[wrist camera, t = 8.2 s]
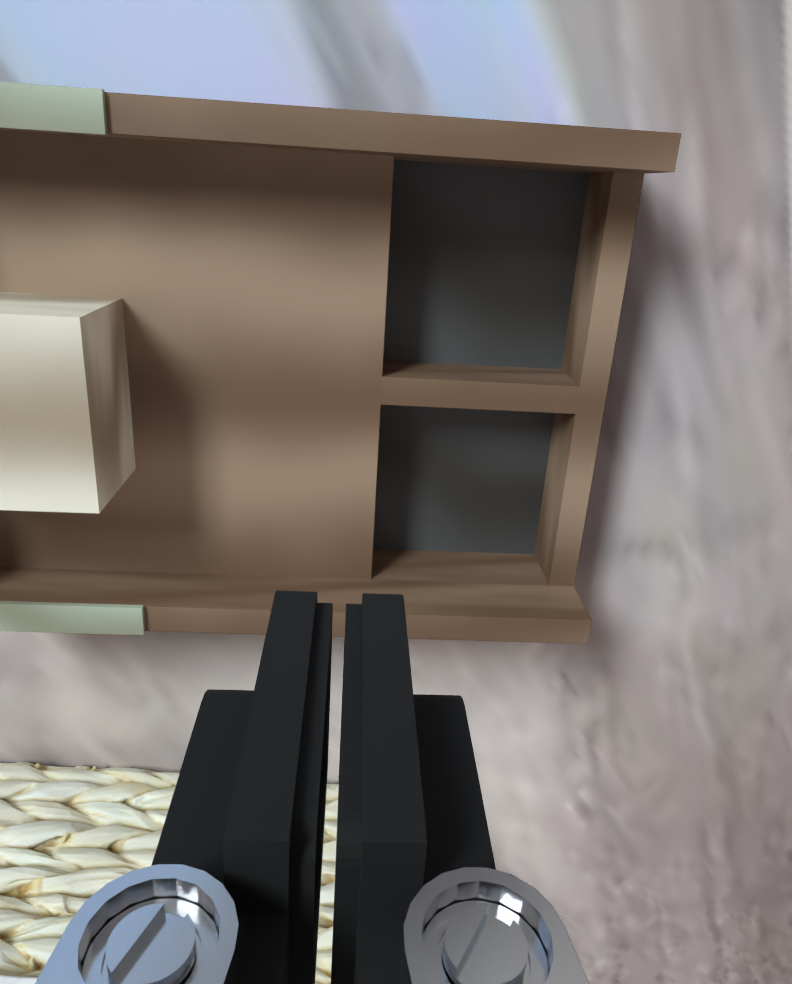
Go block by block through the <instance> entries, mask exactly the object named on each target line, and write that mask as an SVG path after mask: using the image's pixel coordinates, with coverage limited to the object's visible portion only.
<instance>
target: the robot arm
mask: <svg viewBox="0 0 792 984" xmlns="http://www.w3.org/2000/svg"><path fill="white" fill-rule="evenodd" d="M317 600H318V599H317V592H312V591H281V590H276V591H275V595H274V600H273V604H272V609H271V614H270V619H269V623H268V628H267V633H266V637H265V642H264V647H263V652H262V656H261V661H260V666H259V671H258V675H257V680H256V685H255V690H254V691H247V690H207V691H206V692H205V694H204V697H203V699H202V702H201V705H200V709H199V712H198V715H197V718H196V722H195V725H194V728H193V731H192V735H191V738H190V741H189V744H188V748H187V751H186V754H185V757H184V761H183V764H182V767H181V770H180V774H179V777H178V780H177V784H176V787H175V790H174V793H173V797H172V800H171V803H170V806H169V810H168V813H167V816H166V819H165V823H164V826H163V829H162V832H161V836H160V839H159V842H158V845H157V849H156V852H155V855H154V859H153V862H152V865H151V866H149V867H145V868H141V869H137V870H133V871H131V872H129V873H127V874H125V875H123V876H121V877H119V878H117V879H115V880H113V881H111V882H109V883H107V884H106V885H105V886H103V887H102V888H101V889H100V890H99V891H97V892H96V893H95V894H94V895H92V896H91V897H90V898H89V899H88V900H86V901H85V902H84V904H83V905H82V906H81V908H80V909H79V910H78V912H77V913H76V914H75V916H74V917H73V918H72V920H71V921H70V922H69V924H68V925H67V927H66V929H65V931H64V933H63V934H62V936H61V938H60V940H59V941H58V943H57V945H56V947H55V949H54V950H53V952H52V954H51V956H50V957H49V959H48V961H47V963H46V965H45V966H44V968H43V970H42V972H41V974H40V975H39V977H38V979H37V981H36V982H35V984H315V974H316V958H317V941H318V924H319V907H320V891H321V874H322V857H323V840H324V824H325V807H326V790H327V770H328V741H329V711H330V680H331V650H332V619H333V603H317ZM331 984H589V981H588V979H587V977H586V974H585V972H584V970H583V967H582V965H581V963H580V960H579V958H578V956H577V953H576V951H575V949H574V946H573V944H572V942H571V939H570V937H569V935H568V932H567V930H566V928H565V926H564V924H563V922H562V921H561V919H560V917H559V916H558V914H557V912H556V911H555V909H554V907H553V906H552V904H550V903H549V902H548V901H547V900H546V899H545V898H544V897H543V896H542V895H541V894H540V893H539V892H538V891H537V890H536V889H535V888H534V887H533V886H531V885H529V884H527V883H526V882H524V881H522V880H520V879H519V878H517V877H515V876H513V875H512V874H508V873H505V872H501V871H498V870H496V868H495V863H494V857H493V852H492V847H491V842H490V836H489V831H488V826H487V821H486V815H485V810H484V805H483V800H482V794H481V789H480V784H479V779H478V773H477V768H476V763H475V758H474V752H473V747H472V742H471V737H470V731H469V726H468V721H467V716H466V710H465V706H464V702H463V699H462V697H461V696H455V695H413V688H412V678H411V667H410V657H409V647H408V636H407V626H406V615H405V605H404V596H403V594H375V593H363V594H362V604H346V618H345V642H344V667H343V692H342V716H341V741H340V765H339V790H338V815H337V840H336V864H335V889H334V914H333V939H332V964H331Z"/></svg>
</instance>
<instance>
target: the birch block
mask: <svg viewBox="0 0 792 984" xmlns="http://www.w3.org/2000/svg"><path fill="white" fill-rule="evenodd" d="M135 469H136V465H135V453H134V440H133V428H132V415H131V402H130V390H129V377H128V365H127V352H126V339H125V327H124V314H123V302H122V298H111V297H91V296H71V295H52V294H32V293H13V292H0V510H12V511H41V512H70V513H100V512H101V511H102V510H103V508H104V507H105V506H106V505H107V503H108V502H109V501H110V500H111V499H112V497H113V496H114V495H115V494H116V492H117V491H118V490H119V489H120V487H121V486H122V485H123V484H124V483H125V481H126V480H127V479H128V478H129V476H130V475H131V474H132V473H133V471H134V470H135Z"/></svg>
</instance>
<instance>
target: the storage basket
mask: <svg viewBox="0 0 792 984" xmlns="http://www.w3.org/2000/svg"><path fill="white" fill-rule="evenodd" d="M179 774H180V773H177V772H155V771H150V770H145V769H139V768H126V767H113V768H103V769H97V767H96V766H93V768H92V769H91V768H90V767H89V766H80V765H79V766H76V767H74V768H73V767H56V766H42V765H40V764H39V763H36V765H35V764H33V763H29V762H18V763H0V984H35V982H36V981H37V979H38V977H39V975H40V974H41V972H42V970H43V968H44V966H45V965H46V963H47V961H48V959H49V957H50V956H51V954H52V952H53V950H54V949H55V947H56V945H57V943H58V941H59V940H60V938H61V936H62V934H63V933H64V931H65V929H66V927H67V925H68V924H69V922H70V921H71V920H72V918H73V917H74V916H75V914H76V913H77V912H78V910H79V909H80V908H81V906H82V905H83V904H84V902H85V901H86V900H88V899H89V898H90V897H91V896H92V895H94V894H95V893H96V892H97V891H99V890H100V889H101V888H102V887H103V886H105V885H106V884H107V883H109V882H111V881H113V880H115V879H117V878H119V877H121V876H123V875H125V874H127V873H129V872H131V871H133V870H137V869H141V868H145V867H149V866H151V865H152V862H153V859H154V855H155V852H156V849H157V845H158V842H159V839H160V836H161V832H162V829H163V826H164V823H165V819H166V816H167V813H168V810H169V806H170V803H171V800H172V797H173V793H174V790H175V787H176V784H177V780H178V777H179ZM338 790H339V784H327V790H326V807H325V824H324V840H323V857H322V874H321V891H320V907H319V924H318V941H317V958H316V974H315V984H331V964H332V939H333V914H334V889H335V864H336V840H337V815H338Z"/></svg>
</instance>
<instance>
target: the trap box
mask: <svg viewBox="0 0 792 984" xmlns="http://www.w3.org/2000/svg"><path fill="white" fill-rule="evenodd" d="M680 138H681V133H668V132H654V131H640V130H626V129H612V128H598V127H584V126H570V125H556V124H542V123H528V122H514V121H500V120H486V119H472V118H458V117H444V116H430V115H417V114H403V113H389V112H375V111H361V110H347V109H333V108H319V107H305V106H291V105H277V104H263V103H249V102H235V101H221V100H207V99H193V98H179V97H165V96H151V95H137V94H123V93H109V92H104V90H103V89H93V88H79V87H65V86H51V85H37V84H23V83H9V82H0V292H13V293H32V294H52V295H71V296H91V297H111V298H122V302H123V314H124V327H125V339H126V352H127V365H128V377H129V390H130V402H131V415H132V428H133V440H134V453H135V465H136V469H135V470H134V471H133V473H132V474H131V475H130V476H129V478H128V479H127V480H126V481H125V483H124V484H123V485H122V486H121V487H120V489H119V490H118V491H117V492H116V494H115V495H114V496H113V497H112V499H111V500H110V501H109V502H108V503H107V505H106V506H105V507H104V508H103V510H102V511H101V512H100V513H70V512H41V511H12V510H0V631H13V632H48V633H83V634H118V635H144V634H145V631H166V632H200V633H235V634H266V633H267V628H268V623H269V619H270V614H271V609H272V604H273V600H274V595H275V591H276V590H281V591H312V592H317V599H318V600H317V603H333V619H332V636H339V637H345V618H346V604H362V594H363V593H375V594H403V596H404V605H405V615H406V626H407V636H408V639H443V640H477V641H512V642H547V643H581V644H588V638H589V633H590V627H591V622H592V620H591V618H590V616H589V614H588V612H587V610H586V608H585V606H584V605H583V603H582V601H581V599H580V597H579V595H578V593H577V591H576V589H575V588H574V582H575V576H576V571H577V565H578V559H579V553H580V547H581V541H582V535H583V529H584V524H585V518H586V512H587V506H588V500H589V494H590V488H591V482H592V477H593V471H594V465H595V459H596V453H597V447H598V441H599V435H600V430H601V424H602V418H603V412H604V406H605V400H606V394H607V388H608V383H609V377H610V371H611V365H612V359H613V353H614V347H615V341H616V336H617V330H618V324H619V318H620V312H621V306H622V300H623V294H624V289H625V283H626V277H627V271H628V265H629V259H630V253H631V247H632V242H633V236H634V230H635V224H636V218H637V212H638V206H639V200H640V195H641V189H642V183H643V177H644V173H662V172H674V171H675V166H676V160H677V155H678V149H679V144H680Z"/></svg>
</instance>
